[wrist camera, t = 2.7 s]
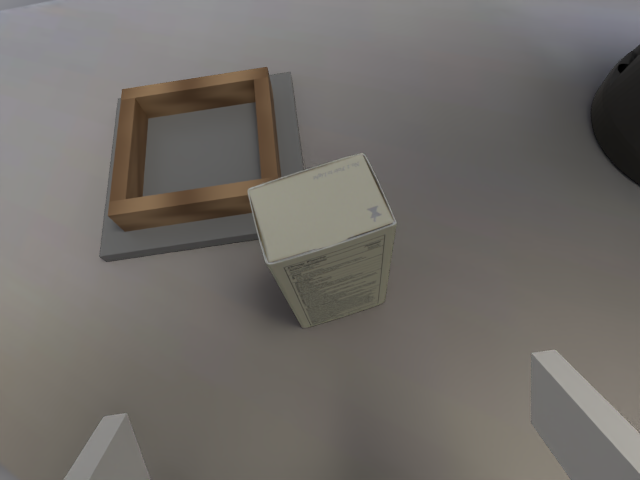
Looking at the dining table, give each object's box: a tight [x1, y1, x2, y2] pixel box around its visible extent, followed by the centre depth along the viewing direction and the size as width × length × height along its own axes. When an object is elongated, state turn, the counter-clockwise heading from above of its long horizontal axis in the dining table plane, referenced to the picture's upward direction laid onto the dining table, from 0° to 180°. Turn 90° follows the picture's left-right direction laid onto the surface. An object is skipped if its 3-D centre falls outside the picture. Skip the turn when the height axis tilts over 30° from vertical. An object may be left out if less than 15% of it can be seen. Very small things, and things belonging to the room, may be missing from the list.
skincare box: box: [247, 153, 397, 328], centre depth 25 cm, size 6×4×12 cm
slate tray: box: [99, 72, 304, 262], centre depth 36 cm, size 16×16×1 cm
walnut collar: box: [108, 67, 281, 232], centre depth 34 cm, size 12×12×2 cm
